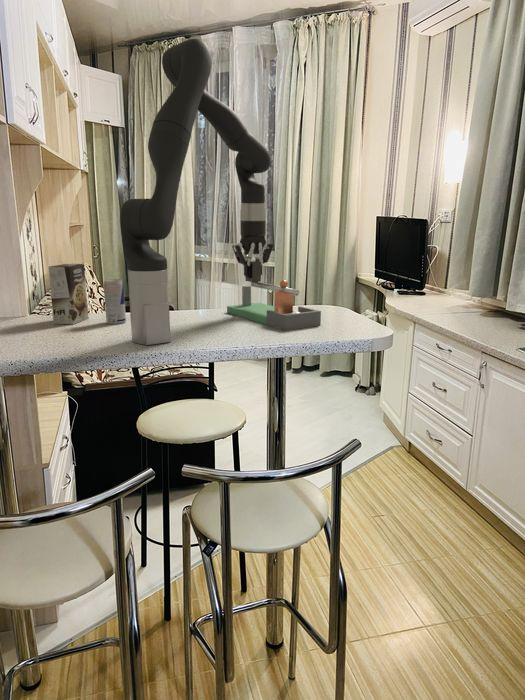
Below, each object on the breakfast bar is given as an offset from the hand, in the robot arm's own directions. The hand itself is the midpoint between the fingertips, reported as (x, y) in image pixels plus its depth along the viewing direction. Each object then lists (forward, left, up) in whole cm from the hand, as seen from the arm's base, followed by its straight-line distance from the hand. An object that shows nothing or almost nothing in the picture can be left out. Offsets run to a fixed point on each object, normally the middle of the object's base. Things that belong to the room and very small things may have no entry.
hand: (253, 277), depth 159 cm
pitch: (-10, 0, -11) cm, 15 cm away
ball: (-22, 0, -9) cm, 24 cm away
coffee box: (+19, +50, -11) cm, 55 cm away
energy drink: (+10, +40, -11) cm, 43 cm away
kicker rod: (-10, 0, -9) cm, 13 cm away
